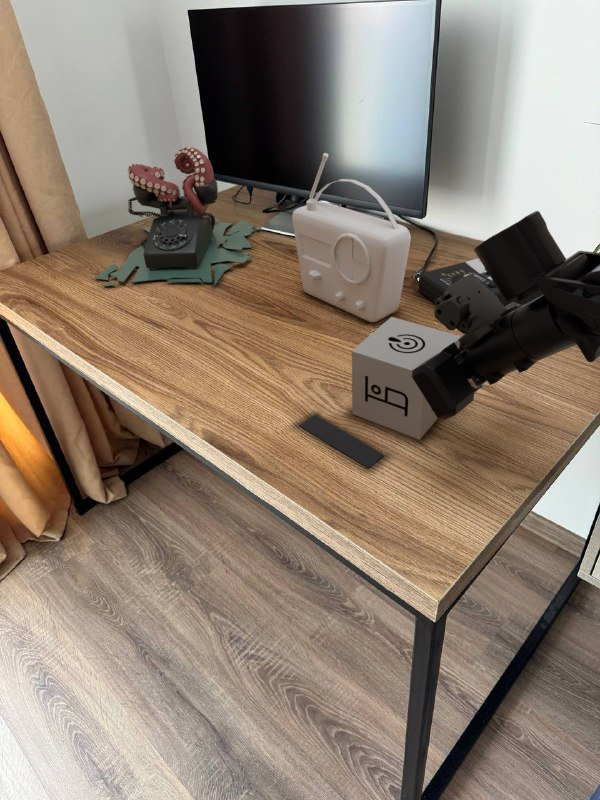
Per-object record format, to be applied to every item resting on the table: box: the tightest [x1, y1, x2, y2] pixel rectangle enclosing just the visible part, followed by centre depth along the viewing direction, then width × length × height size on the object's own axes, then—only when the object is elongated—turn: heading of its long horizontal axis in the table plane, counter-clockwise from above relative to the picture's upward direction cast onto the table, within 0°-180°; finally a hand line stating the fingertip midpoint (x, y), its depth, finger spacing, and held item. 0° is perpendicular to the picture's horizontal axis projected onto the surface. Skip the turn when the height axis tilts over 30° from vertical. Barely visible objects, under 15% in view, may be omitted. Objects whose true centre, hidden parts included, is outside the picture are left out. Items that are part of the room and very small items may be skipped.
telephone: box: [93, 146, 262, 287], centre depth 122 cm, size 35×32×20 cm
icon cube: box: [351, 316, 462, 441], centre depth 76 cm, size 10×10×10 cm
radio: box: [291, 152, 412, 323], centre depth 97 cm, size 22×8×25 cm, turn 42°
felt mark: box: [298, 414, 385, 469], centre depth 75 cm, size 12×3×1 cm, turn 44°
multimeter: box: [418, 257, 543, 307], centre depth 102 cm, size 13×19×5 cm
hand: (432, 380), depth 72 cm, fingers closed, pressing on icon cube
